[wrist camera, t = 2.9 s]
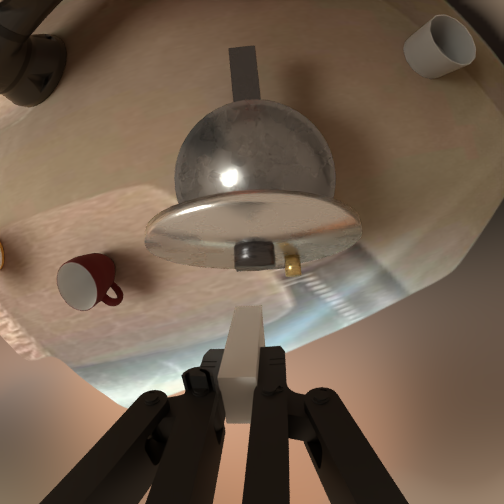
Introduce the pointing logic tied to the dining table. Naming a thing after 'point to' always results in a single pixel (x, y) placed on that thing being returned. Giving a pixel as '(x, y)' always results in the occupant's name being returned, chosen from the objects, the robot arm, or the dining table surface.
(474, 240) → the dining table surface
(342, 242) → the lid
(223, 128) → the pot
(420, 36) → the cup
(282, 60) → the dining table surface
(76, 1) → the dining table surface
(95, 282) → the mug
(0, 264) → the cup
